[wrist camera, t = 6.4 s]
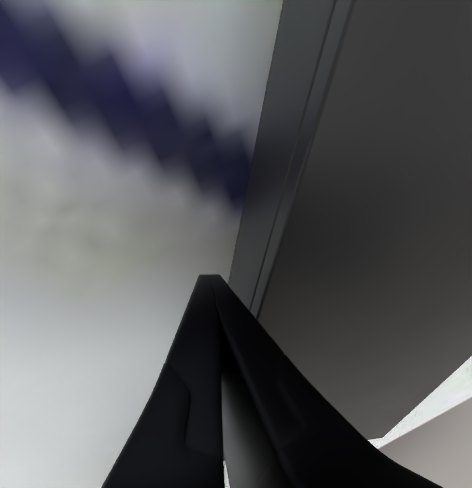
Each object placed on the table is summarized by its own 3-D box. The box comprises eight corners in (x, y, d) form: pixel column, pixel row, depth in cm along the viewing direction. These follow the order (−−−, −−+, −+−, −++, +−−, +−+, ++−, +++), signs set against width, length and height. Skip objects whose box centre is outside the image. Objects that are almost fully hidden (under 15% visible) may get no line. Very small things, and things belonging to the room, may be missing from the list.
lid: (351, 377, 18) (382, 438, 15) (207, 389, 16) (212, 462, 13) (668, -59, 7) (1006, -132, 4) (324, -219, 5) (536, -606, 2)
